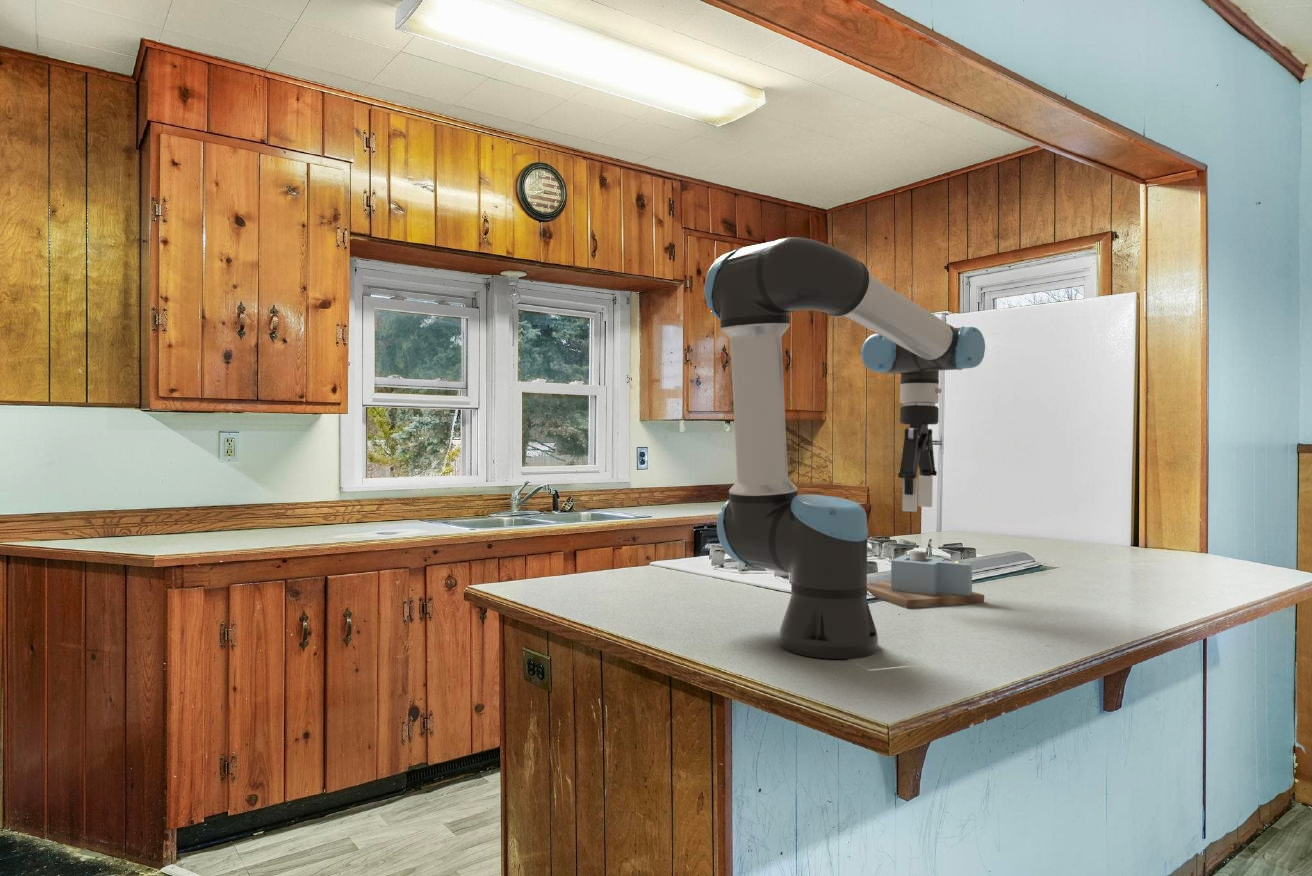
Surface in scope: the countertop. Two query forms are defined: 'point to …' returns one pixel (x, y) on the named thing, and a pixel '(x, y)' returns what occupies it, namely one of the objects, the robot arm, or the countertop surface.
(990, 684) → the countertop surface
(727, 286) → the robot arm
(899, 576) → the pale blue notched block
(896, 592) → the post base
